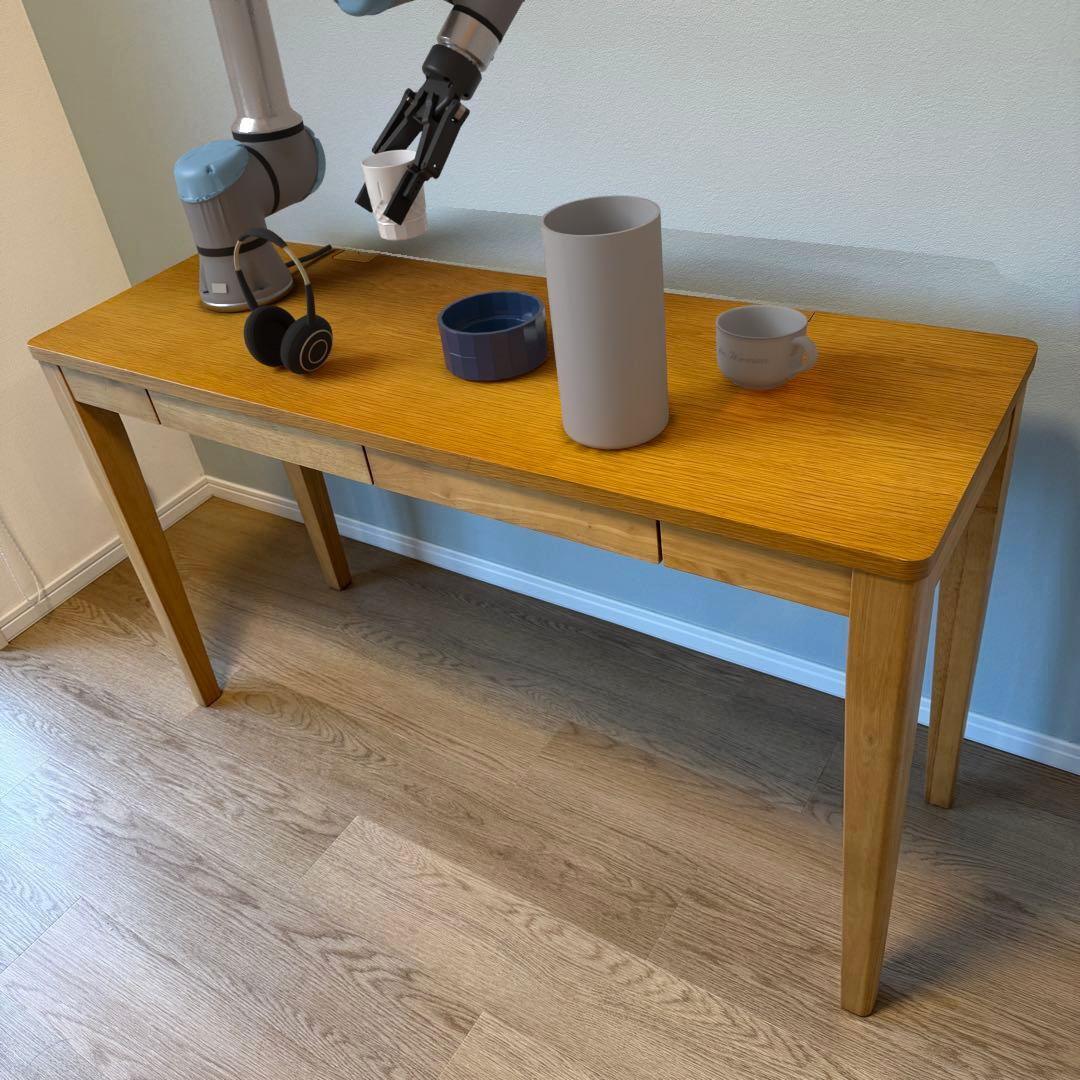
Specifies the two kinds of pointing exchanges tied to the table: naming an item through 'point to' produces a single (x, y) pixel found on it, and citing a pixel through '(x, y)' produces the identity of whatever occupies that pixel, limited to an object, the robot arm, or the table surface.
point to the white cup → (381, 185)
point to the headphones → (284, 323)
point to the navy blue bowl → (494, 335)
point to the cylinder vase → (608, 318)
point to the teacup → (763, 345)
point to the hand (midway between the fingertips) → (377, 213)
